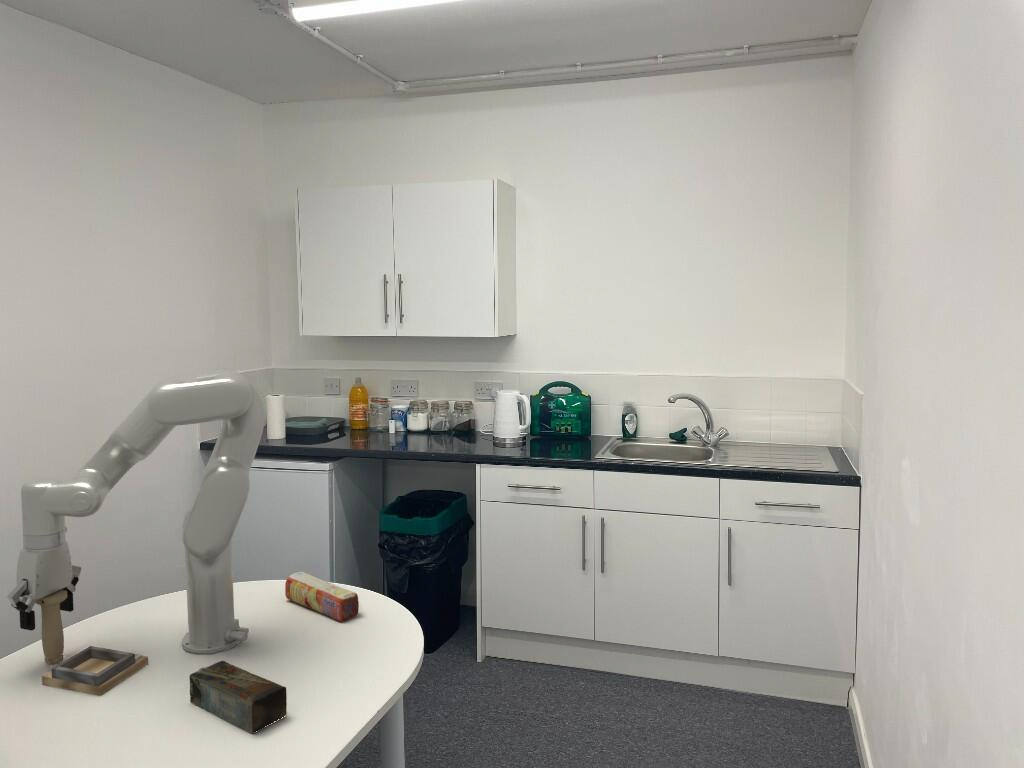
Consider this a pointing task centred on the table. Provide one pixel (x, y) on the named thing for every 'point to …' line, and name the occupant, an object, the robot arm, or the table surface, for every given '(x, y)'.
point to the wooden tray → (94, 670)
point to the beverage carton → (238, 696)
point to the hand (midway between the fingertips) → (47, 619)
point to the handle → (52, 626)
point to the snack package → (322, 596)
